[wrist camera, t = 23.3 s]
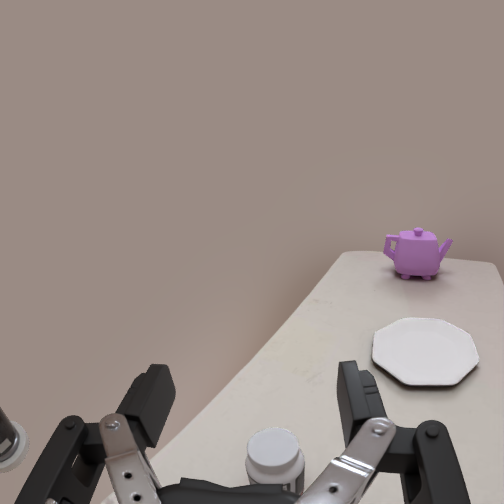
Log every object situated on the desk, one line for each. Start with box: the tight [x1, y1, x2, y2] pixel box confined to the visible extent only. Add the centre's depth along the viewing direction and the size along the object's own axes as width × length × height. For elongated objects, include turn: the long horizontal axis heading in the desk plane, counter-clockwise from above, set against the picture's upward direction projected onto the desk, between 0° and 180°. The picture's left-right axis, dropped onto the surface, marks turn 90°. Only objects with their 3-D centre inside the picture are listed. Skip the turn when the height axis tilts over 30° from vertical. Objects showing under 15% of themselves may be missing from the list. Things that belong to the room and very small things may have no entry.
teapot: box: [383, 228, 453, 280], centre depth 74 cm, size 20×12×13 cm, turn 66°
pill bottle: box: [245, 428, 305, 495], centre depth 25 cm, size 6×6×10 cm
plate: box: [372, 318, 479, 386], centre depth 45 cm, size 20×20×2 cm
